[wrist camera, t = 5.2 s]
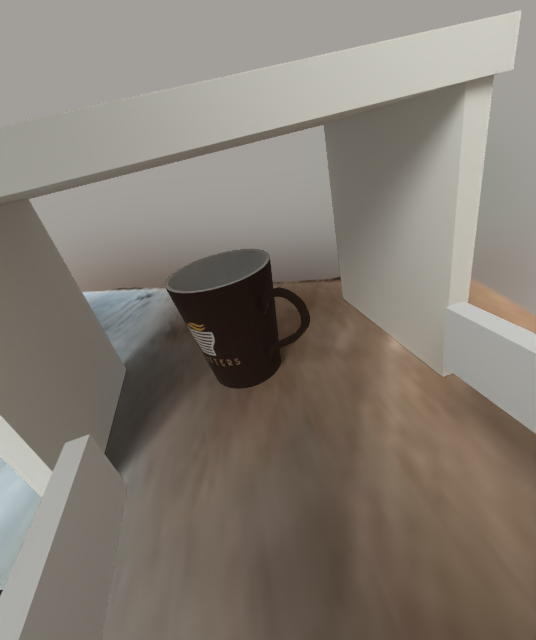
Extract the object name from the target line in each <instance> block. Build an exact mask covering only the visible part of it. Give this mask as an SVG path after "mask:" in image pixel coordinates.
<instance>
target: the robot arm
mask: <svg viewBox="0 0 536 640" xmlns="http://www.w3.org/2000/svg"><path fill="white" fill-rule="evenodd" d="M442 365H443V366H444V367H445V368H447V369H448V370H450V371H451V372H452V373H454V374H455V375H456V376H458V377H459V378H460V379H462V380H463V381H464V382H466V383H467V384H469V385H470V386H471V387H473V388H474V389H475V390H477V391H478V392H479V393H481V394H482V395H483V396H485V397H486V398H488V399H489V400H490V401H492V402H493V403H494V404H496V405H497V406H498V407H500V408H501V409H502V410H504V411H505V412H507V413H508V414H509V415H511V416H512V417H513V418H515V419H516V420H517V421H519V422H520V423H521V424H523V425H524V426H526V427H527V428H528V429H530V430H531V431H532V432H534V433H535V434H536V334H535V333H532V332H530V331H528V330H526V329H524V328H522V327H519V326H517V325H515V324H513V323H511V322H508V321H506V320H504V319H502V318H500V317H497V316H495V315H493V314H491V313H489V312H486V311H484V310H482V309H480V308H478V307H475V306H473V305H471V304H469V303H467V302H464V301H462V302H460V303H457V304H454V305H451V306H448V307H446V312H445V328H444V345H443V361H442ZM127 486H128V485H127V484H126V482H125V481H124V480H123V478H122V477H121V476H120V474H119V473H118V472H117V470H116V469H115V468H114V466H113V465H112V464H111V462H110V461H109V460H108V458H107V457H106V456H105V454H104V453H103V452H102V450H101V449H100V448H99V446H98V445H97V444H96V442H95V441H94V440H93V438H92V437H91V436H90V434H89V435H86V436H83V437H80V438H78V439H75V440H72V441H69V442H66V443H65V445H64V447H63V449H62V452H61V454H60V456H59V459H58V461H57V464H56V466H55V468H54V471H53V473H52V475H51V478H50V480H49V482H48V485H47V487H46V489H45V492H44V494H43V497H42V499H41V501H40V504H39V506H38V508H37V511H36V513H35V515H34V518H33V520H32V523H31V525H30V527H29V530H28V532H27V534H26V537H25V539H24V541H23V544H22V546H21V549H20V551H19V553H18V556H17V558H16V560H15V563H14V565H13V567H12V570H11V572H10V575H9V577H8V579H7V582H6V584H5V586H4V589H3V590H0V640H102V635H103V629H104V623H105V617H106V611H107V605H108V599H109V593H110V587H111V581H112V575H113V569H114V563H115V557H116V551H117V545H118V539H119V533H120V527H121V521H122V515H123V509H124V503H125V497H126V492H127Z"/></svg>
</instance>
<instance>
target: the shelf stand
mask: <svg viewBox="0 0 536 640" xmlns="http://www.w3.org/2000/svg"><path fill="white" fill-rule="evenodd" d="M520 16H521V11H517V12H512V13H508V14H503V15H499V16H494V17H490V18H485V19H481V20H476V21H472V22H467V23H463V24H459V25H454V26H449V27H445V28H440V29H436V30H431V31H427V32H422V33H418V34H413V35H409V36H404V37H400V38H395V39H391V40H386V41H381V42H377V43H373V44H368V45H363V46H359V47H354V48H350V49H346V50H342V51H336V52H332V53H327V54H323V55H318V56H314V57H310V58H305V59H300V60H296V61H292V62H287V63H283V64H278V65H274V66H269V67H265V68H260V69H255V70H251V71H246V72H242V73H237V74H233V75H228V76H224V77H220V78H215V79H211V80H206V81H201V82H197V83H192V84H188V85H183V86H179V87H175V88H170V89H166V90H162V91H156V92H152V93H147V94H143V95H138V96H134V97H129V98H125V99H120V100H116V101H111V102H107V103H103V104H98V105H94V106H89V107H84V108H80V109H76V110H71V111H66V112H62V113H57V114H53V115H48V116H44V117H39V118H35V119H30V120H26V121H21V122H17V123H13V124H8V125H3V126H0V457H1V458H2V459H3V460H4V461H5V462H6V463H7V464H8V465H9V466H10V467H11V468H12V469H13V470H14V471H15V472H16V473H17V474H18V475H19V476H20V477H21V478H22V479H23V480H24V481H25V482H26V483H27V484H28V485H29V486H30V487H31V488H32V489H33V490H34V491H35V492H36V493H37V494H39V495H40V496H41V497H43V494H44V492H45V489H46V487H47V485H48V482H49V480H50V478H51V475H52V473H53V471H54V468H55V466H56V464H57V461H58V459H59V456H60V454H61V452H62V449H63V447H64V445H65V443H66V442H69V441H72V440H75V439H78V438H80V437H83V436H86V435H89V434H90V436H91V437H92V438H93V440H94V441H95V442H96V444H97V445H98V446H99V448H100V449H101V450H102V452H103V453H105V450H106V446H107V442H108V438H109V434H110V430H111V427H112V423H113V419H114V415H115V411H116V407H117V403H118V400H119V396H120V392H121V388H122V384H123V380H124V377H125V373H126V368H125V367H124V365H123V363H122V361H121V360H120V358H119V356H118V354H117V353H116V351H115V349H114V347H113V346H112V344H111V342H110V340H109V339H108V337H107V335H106V333H105V332H104V330H103V328H102V326H101V325H100V323H99V321H98V319H97V318H96V316H95V314H94V312H93V311H92V309H91V307H90V306H89V304H88V302H87V300H86V299H85V297H84V295H83V293H82V292H81V290H80V288H79V286H78V285H77V283H76V281H75V279H74V278H73V276H72V274H71V272H70V271H69V269H68V267H67V265H66V264H65V262H64V260H63V258H62V257H61V255H60V253H59V252H58V250H57V248H56V246H55V244H54V243H53V241H52V239H51V238H50V236H49V234H48V232H47V231H46V229H45V227H44V225H43V223H42V222H41V220H40V218H39V217H38V215H37V213H36V211H35V210H34V208H33V206H32V204H31V203H30V201H29V199H31V198H35V197H39V196H43V195H47V194H51V193H55V192H58V191H63V190H66V189H71V188H75V187H79V186H83V185H87V184H90V183H94V182H98V181H102V180H106V179H110V178H114V177H118V176H122V175H126V174H130V173H134V172H138V171H142V170H145V169H150V168H154V167H158V166H162V165H166V164H169V163H174V162H178V161H182V160H186V159H190V158H193V157H197V156H201V155H205V154H209V153H213V152H217V151H221V150H225V149H229V148H233V147H237V146H241V145H245V144H249V143H253V142H256V141H261V140H265V139H269V138H272V137H277V136H280V135H284V134H289V133H292V132H297V131H300V130H304V129H308V128H312V127H316V126H320V125H324V131H325V142H326V151H327V160H328V169H329V178H330V186H331V196H332V204H333V213H334V223H335V232H336V241H337V250H338V259H339V268H340V277H341V286H342V295H343V299H344V300H346V301H347V302H348V303H350V304H351V305H352V306H353V307H355V308H356V309H357V310H358V311H360V312H361V313H362V314H363V315H365V316H366V317H367V318H369V319H370V320H371V321H372V322H374V323H375V324H376V325H377V326H379V327H380V328H381V329H382V330H384V331H385V332H386V333H387V334H389V335H390V336H391V337H393V338H394V339H395V340H396V341H398V342H399V343H400V344H401V345H403V346H404V347H405V348H406V349H408V350H409V351H410V352H411V353H413V354H414V355H415V356H417V357H418V358H419V359H420V360H422V361H423V362H424V363H425V364H427V365H428V366H429V367H430V368H432V369H433V370H434V371H435V372H437V373H438V374H439V375H441V376H442V377H445V376H447V375H450V374H452V372H451V371H450V370H448V369H447V368H445V367H444V366H443V365H442V361H443V345H444V328H445V312H446V307H448V306H451V305H454V304H457V303H460V302H462V301H464V302H467V303H468V297H469V289H470V280H471V271H472V262H473V254H474V244H475V235H476V227H477V218H478V210H479V201H480V192H481V184H482V175H483V166H484V156H485V148H486V139H487V131H488V123H489V113H490V105H491V95H492V87H493V79H494V75H496V74H499V73H502V72H506V71H509V70H513V67H514V60H515V52H516V45H517V38H518V31H519V23H520Z"/></svg>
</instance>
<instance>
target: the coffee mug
mask: <svg viewBox="0 0 536 640" xmlns="http://www.w3.org/2000/svg"><path fill="white" fill-rule="evenodd" d="M165 287H166V289H167V291H168V293H169V295H170V296H171V298H172V300H173V302H174V303H175V305H176V307H177V309H178V311H179V312H180V314H181V316H182V318H183V319H184V321H185V323H186V325H187V326H188V328H189V330H190V332H191V333H192V335H193V337H194V339H195V340H196V342H197V344H198V346H199V347H200V349H201V351H202V353H203V355H204V356H205V358H206V360H207V362H208V363H209V365H210V367H211V369H212V370H213V372H214V374H215V376H216V377H217V379H218V381H219V382H220V383H221V384H223V385H224V386H227V387H230V388H247V387H252V386H255V385H258V384H260V383H262V382H264V381H266V380H267V379H269V378H270V377H271V376H272V375H273V374H274V373H275V372H276V371H277V370H278V368H279V366H280V362H281V358H280V348H282V347H285V346H287V345H289V344H291V343H293V342H295V341H296V340H297V339H298V338H299V337H300V336H301V335H302V334H303V333H304V332H305V331H306V329H307V328H308V326H309V322H310V316H309V312H308V310H307V307H306V305H305V303H304V302H303V300H302V299H301V298H300V297H298V296H297V295H296V294H295V293H293V292H291V291H289V290H287V289H284V288H274V289H273V282H272V273H271V265H270V255H269V254H268V253H267V252H265V251H263V250H259V249H240V250H233V251H227V252H223V253H218V254H215V255H211V256H208V257H205V258H202V259H200V260H197V261H194V262H192V263H190V264H188V265H186V266H184V267H182V268H180V269H179V270H177V271H176V272H174V273H173V274H172V275H171V276H170V277H169V278H168V279H167V280H166V282H165ZM274 297H283V298H285V299H287V300H289V301H290V302H291V303H292V304H294V305H295V307H296V308H297V309H298V311H299V313H300V316H301V326H300V328H299V329H298V330H297V332H296V333H294V334H293V335H291V336H289V337H287V338H285V339H283V340H280V341H279V339H278V329H277V320H276V311H275V301H274Z"/></svg>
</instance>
